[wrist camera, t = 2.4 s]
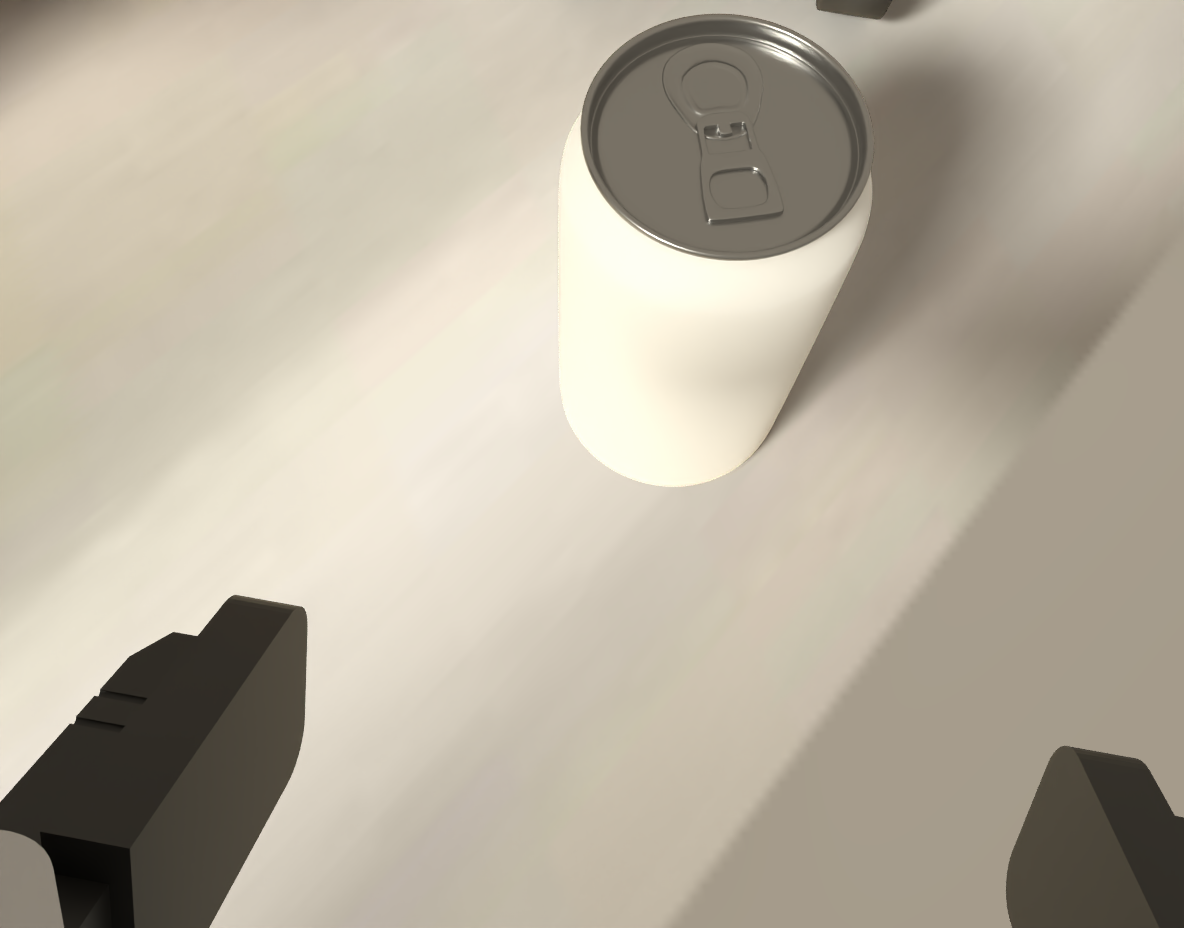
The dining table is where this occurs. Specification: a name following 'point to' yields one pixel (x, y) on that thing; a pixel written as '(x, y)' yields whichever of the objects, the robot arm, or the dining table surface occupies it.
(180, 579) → the dining table surface
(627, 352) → the can
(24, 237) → the dining table surface
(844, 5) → the trolley
